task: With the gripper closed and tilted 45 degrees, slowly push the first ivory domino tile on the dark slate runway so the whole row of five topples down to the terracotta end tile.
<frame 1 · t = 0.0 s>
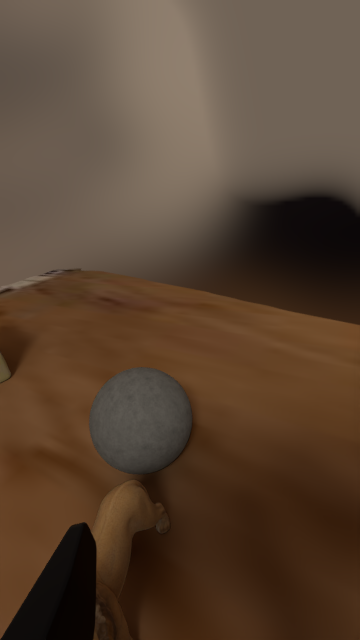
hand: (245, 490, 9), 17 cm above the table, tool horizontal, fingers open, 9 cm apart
lion figurine: (133, 611, 21), on the table
decorative ball: (154, 457, 33), on the table
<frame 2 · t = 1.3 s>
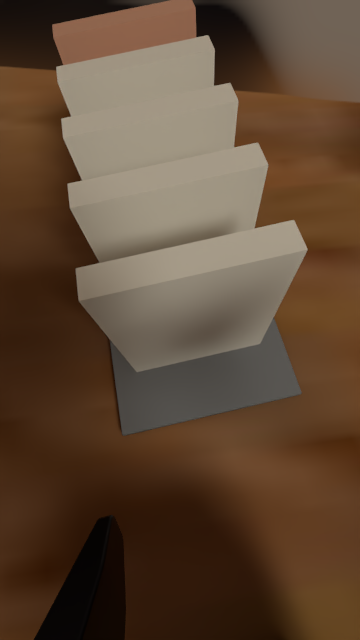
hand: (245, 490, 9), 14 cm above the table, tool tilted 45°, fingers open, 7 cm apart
runway: (168, 239, 29), on the table
tile 4: (159, 202, 30), point 1 cm above the table, touching runway
tile 2: (182, 292, 26), point 1 cm above the table, touching runway
tile 3: (170, 244, 28), point 1 cm above the table, touching runway
tile 1: (196, 348, 24), point 1 cm above the table, touching runway
tile 5: (150, 166, 32), point 1 cm above the table, touching runway
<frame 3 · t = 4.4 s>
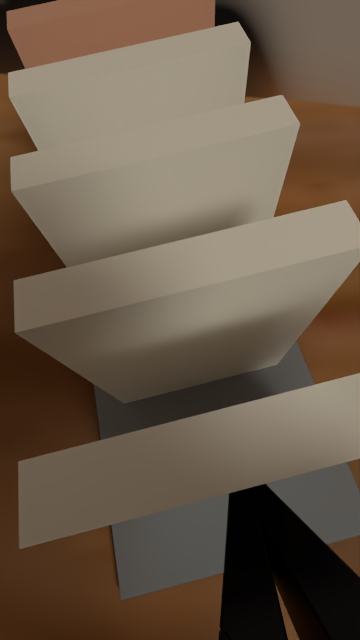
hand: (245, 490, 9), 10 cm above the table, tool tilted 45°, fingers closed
runway: (176, 293, 22), on the table
tile 4: (163, 244, 23), point 1 cm above the table, touching runway
tile 2: (197, 371, 19), point 1 cm above the table, touching runway
tile 3: (179, 302, 21), point 1 cm above the table, touching runway
tile 1: (220, 457, 17), point 1 cm above the table, touching gripper, runway
tile 5: (150, 195, 25), point 1 cm above the table, touching runway
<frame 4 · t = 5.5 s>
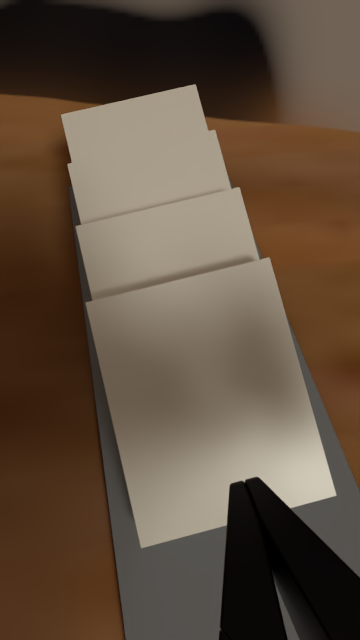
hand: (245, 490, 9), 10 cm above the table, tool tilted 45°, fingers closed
runway: (190, 345, 21), on the table
tile 4: (170, 266, 22), point 1 cm above the table, tilted 71°, touching runway, tile 3, tile 5
tile 2: (209, 412, 18), point 1 cm above the table, tilted 71°, touching runway, tile 1, tile 3
tile 3: (187, 331, 20), point 1 cm above the table, tilted 71°, touching tile 2, tile 4
tile 1: (236, 512, 16), point 1 cm above the table, tilted 71°, touching tile 2
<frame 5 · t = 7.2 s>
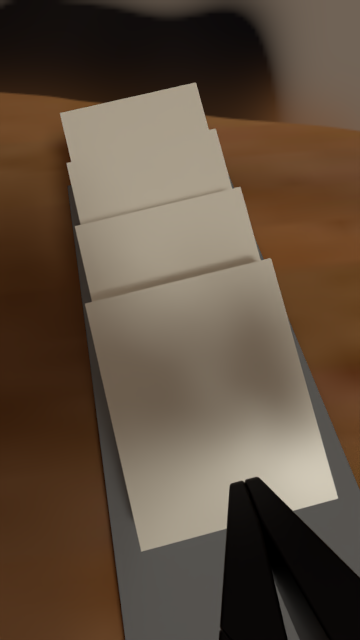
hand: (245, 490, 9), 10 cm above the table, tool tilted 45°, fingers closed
runway: (190, 346, 21), on the table
tile 4: (170, 266, 21), point 1 cm above the table, tilted 71°, touching runway, tile 3, tile 5
tile 2: (210, 414, 18), point 1 cm above the table, tilted 71°, touching runway, tile 1, tile 3
tile 3: (187, 332, 20), point 1 cm above the table, tilted 71°, touching tile 2, tile 4
tile 1: (237, 515, 16), point 1 cm above the table, tilted 71°, touching tile 2
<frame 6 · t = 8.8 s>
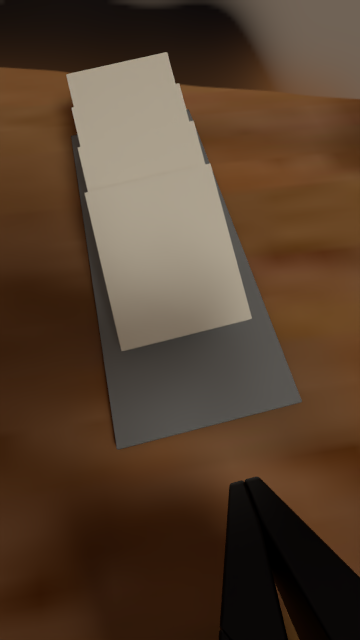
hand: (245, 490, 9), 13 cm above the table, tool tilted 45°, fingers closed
runway: (161, 243, 28), on the table
tile 4: (147, 188, 29), point 1 cm above the table, tilted 71°, touching runway, tile 3, tile 5
tile 2: (171, 278, 25), point 1 cm above the table, tilted 71°, touching runway, tile 1, tile 3
tile 3: (158, 229, 27), point 1 cm above the table, tilted 71°, touching tile 2, tile 4
tile 1: (186, 335, 23), point 1 cm above the table, tilted 71°, touching tile 2
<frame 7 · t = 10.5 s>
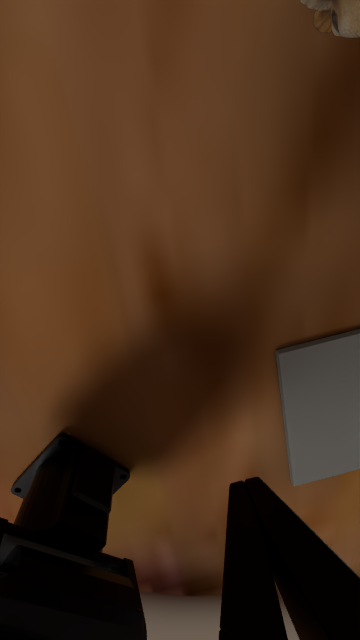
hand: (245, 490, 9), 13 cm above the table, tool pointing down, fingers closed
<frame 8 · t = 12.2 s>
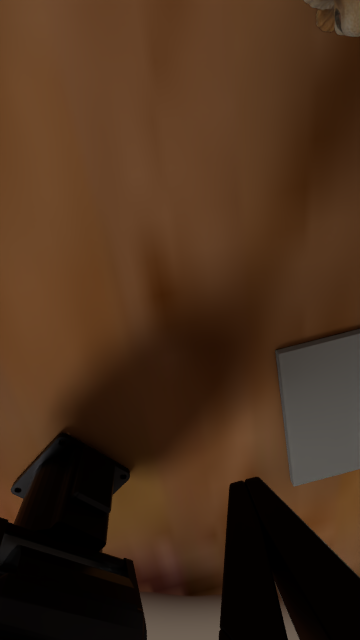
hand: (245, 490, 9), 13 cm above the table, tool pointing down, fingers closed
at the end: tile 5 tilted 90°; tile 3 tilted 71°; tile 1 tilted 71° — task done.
